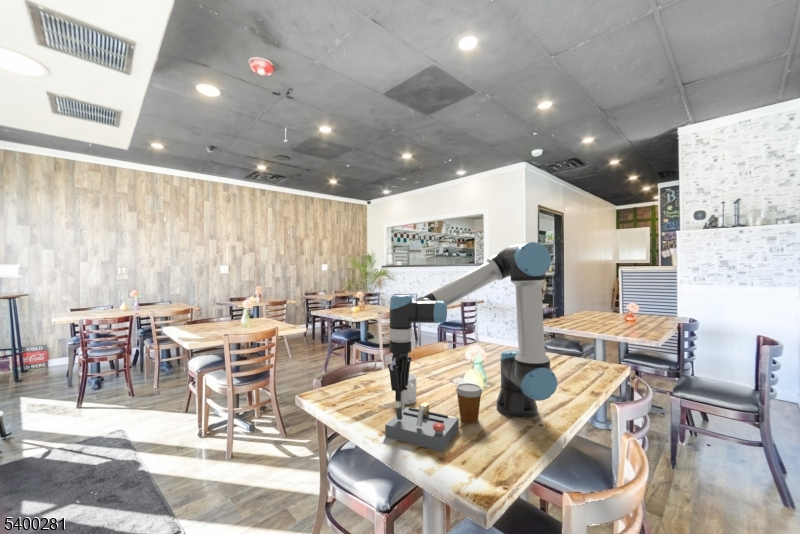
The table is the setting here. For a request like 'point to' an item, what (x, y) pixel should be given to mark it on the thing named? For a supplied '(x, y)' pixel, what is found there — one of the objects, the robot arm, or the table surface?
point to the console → (422, 429)
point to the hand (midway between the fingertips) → (399, 409)
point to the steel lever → (420, 415)
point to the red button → (439, 428)
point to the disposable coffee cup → (469, 402)
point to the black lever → (398, 410)
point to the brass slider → (426, 409)
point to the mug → (410, 390)
